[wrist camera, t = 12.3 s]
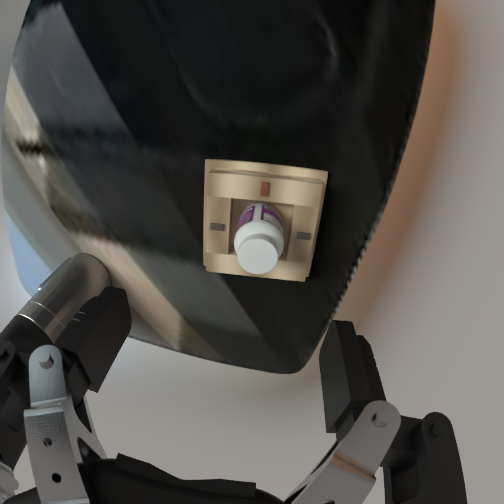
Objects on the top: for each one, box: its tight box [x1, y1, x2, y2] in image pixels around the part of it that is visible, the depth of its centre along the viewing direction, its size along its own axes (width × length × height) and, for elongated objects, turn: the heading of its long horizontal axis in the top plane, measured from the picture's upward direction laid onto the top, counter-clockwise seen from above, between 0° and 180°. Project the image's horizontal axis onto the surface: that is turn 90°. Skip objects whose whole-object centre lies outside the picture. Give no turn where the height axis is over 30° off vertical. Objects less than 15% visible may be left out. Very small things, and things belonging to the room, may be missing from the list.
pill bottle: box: [234, 203, 284, 274], centre depth 31 cm, size 5×5×10 cm
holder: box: [204, 159, 328, 282], centre depth 34 cm, size 15×15×4 cm
